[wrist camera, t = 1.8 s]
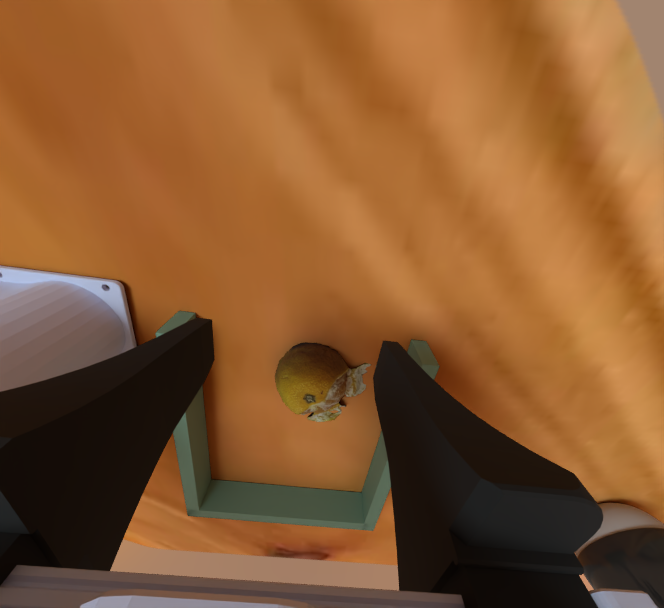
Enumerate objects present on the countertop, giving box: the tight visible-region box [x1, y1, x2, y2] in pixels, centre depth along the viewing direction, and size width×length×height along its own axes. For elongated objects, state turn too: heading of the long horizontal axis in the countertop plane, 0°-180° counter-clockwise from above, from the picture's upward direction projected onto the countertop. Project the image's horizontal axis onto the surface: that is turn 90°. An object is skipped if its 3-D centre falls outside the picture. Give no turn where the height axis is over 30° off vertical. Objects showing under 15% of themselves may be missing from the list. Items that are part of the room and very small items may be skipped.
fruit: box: [275, 342, 377, 422], centre depth 22 cm, size 8×8×4 cm
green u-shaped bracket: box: [156, 311, 439, 531], centre depth 24 cm, size 19×22×3 cm
